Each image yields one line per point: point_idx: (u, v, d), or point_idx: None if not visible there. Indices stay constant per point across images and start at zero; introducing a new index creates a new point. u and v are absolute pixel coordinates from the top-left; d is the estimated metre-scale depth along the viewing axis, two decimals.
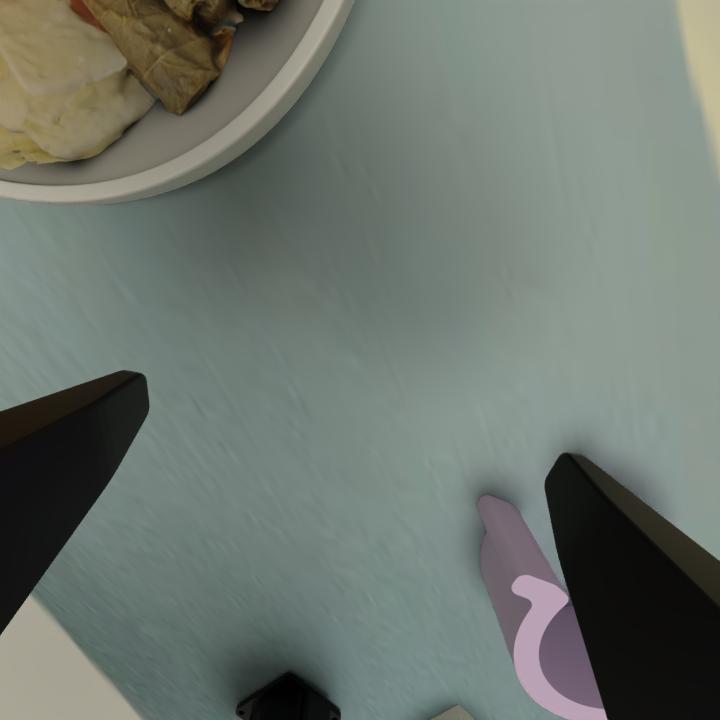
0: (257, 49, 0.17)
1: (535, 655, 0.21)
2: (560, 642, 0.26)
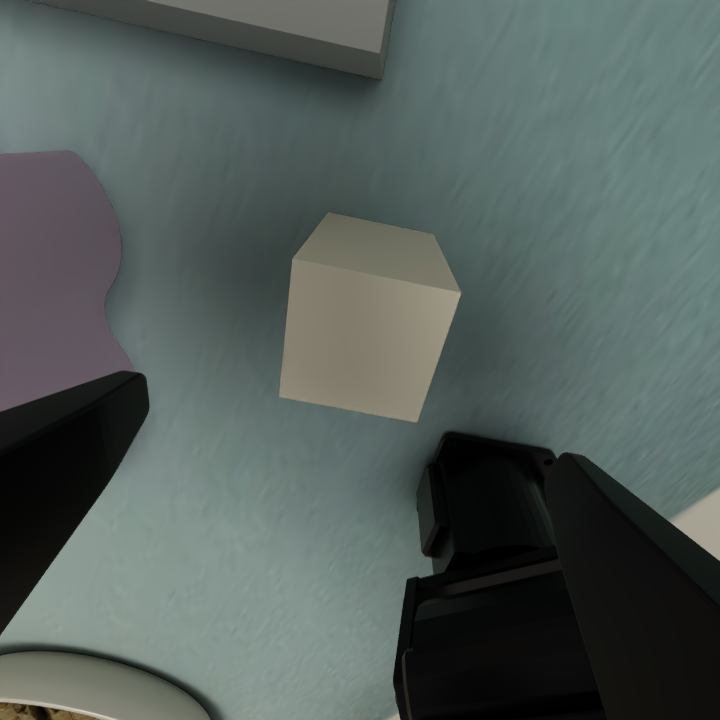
0: None
1: None
2: None
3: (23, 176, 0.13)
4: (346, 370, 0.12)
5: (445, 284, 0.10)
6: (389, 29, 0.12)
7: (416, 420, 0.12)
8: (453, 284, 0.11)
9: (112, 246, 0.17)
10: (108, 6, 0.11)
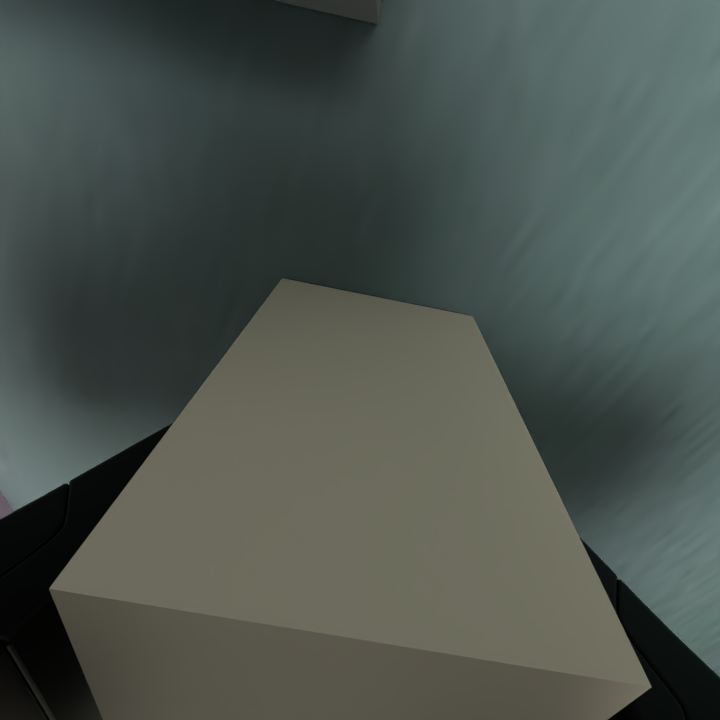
0: None
1: None
2: None
3: None
4: None
5: (579, 620, 0.03)
6: None
7: None
8: (597, 598, 0.03)
9: None
10: None
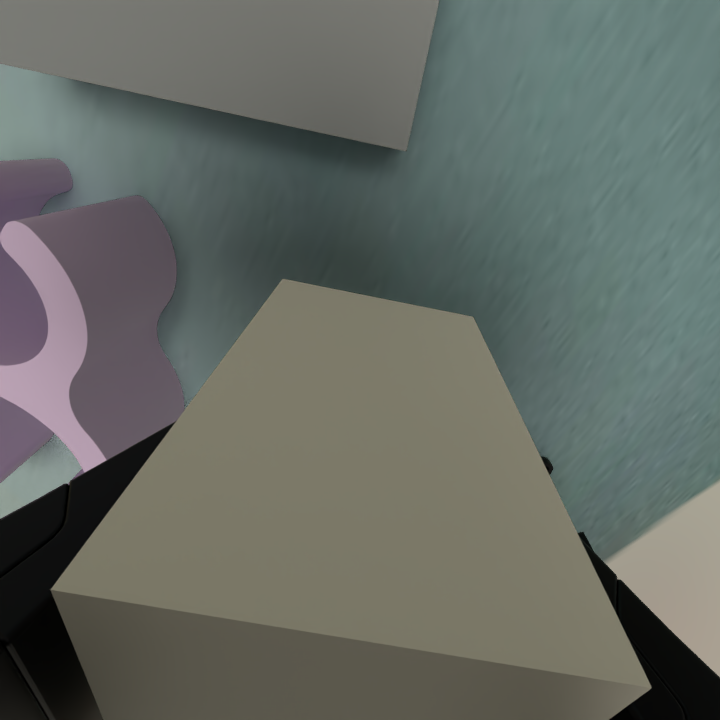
0: None
1: None
2: None
3: (111, 223, 0.15)
4: None
5: (579, 621, 0.03)
6: None
7: None
8: (598, 599, 0.03)
9: (170, 275, 0.19)
10: None
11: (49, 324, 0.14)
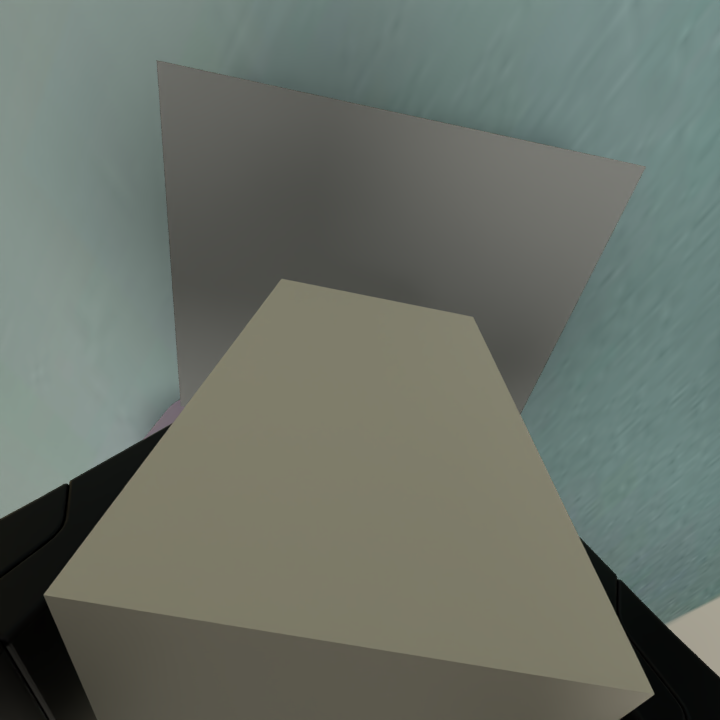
0: None
1: None
2: None
3: None
4: None
5: (580, 626, 0.03)
6: None
7: None
8: (599, 603, 0.03)
9: None
10: None
11: None
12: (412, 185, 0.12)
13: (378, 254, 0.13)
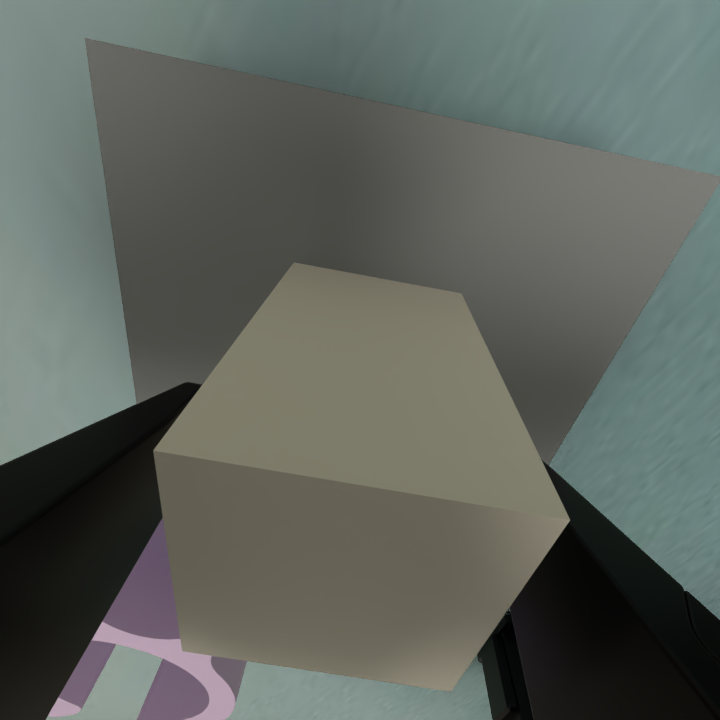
0: None
1: (196, 717, 0.22)
2: None
3: None
4: (307, 624, 0.06)
5: (524, 485, 0.04)
6: None
7: (449, 689, 0.06)
8: (539, 473, 0.05)
9: None
10: None
11: None
12: (419, 200, 0.09)
13: None
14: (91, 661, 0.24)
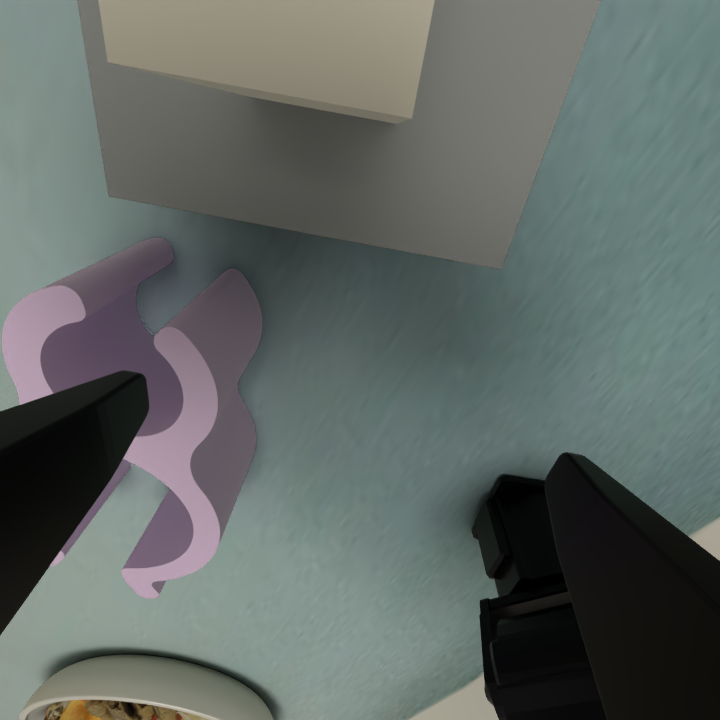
0: None
1: (182, 558, 0.21)
2: None
3: (225, 305, 0.17)
4: None
5: None
6: None
7: (410, 110, 0.06)
8: None
9: (258, 336, 0.21)
10: None
11: (184, 405, 0.16)
12: None
13: None
14: None
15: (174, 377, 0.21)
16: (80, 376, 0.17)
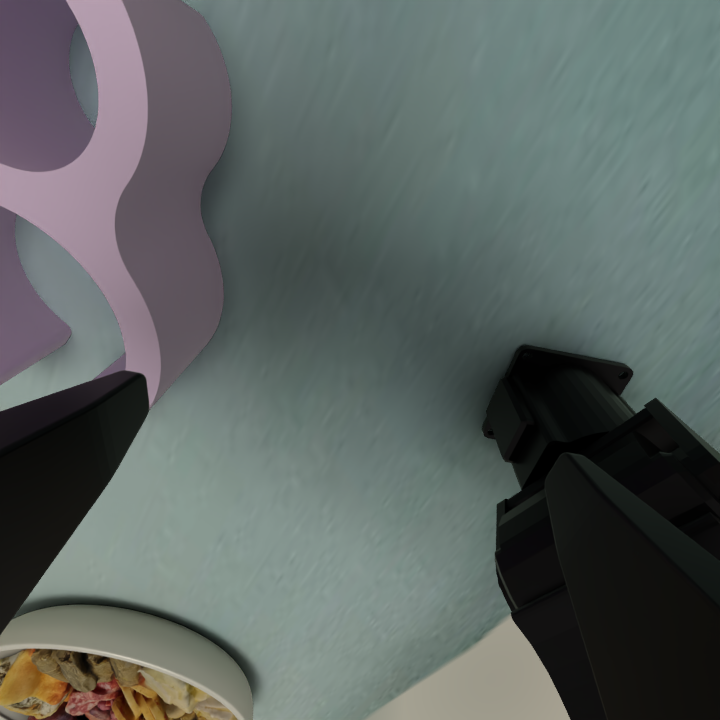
0: None
1: None
2: None
3: (172, 8, 0.12)
4: None
5: None
6: None
7: None
8: None
9: (225, 119, 0.16)
10: None
11: (101, 105, 0.11)
12: None
13: None
14: None
15: None
16: None
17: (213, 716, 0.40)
